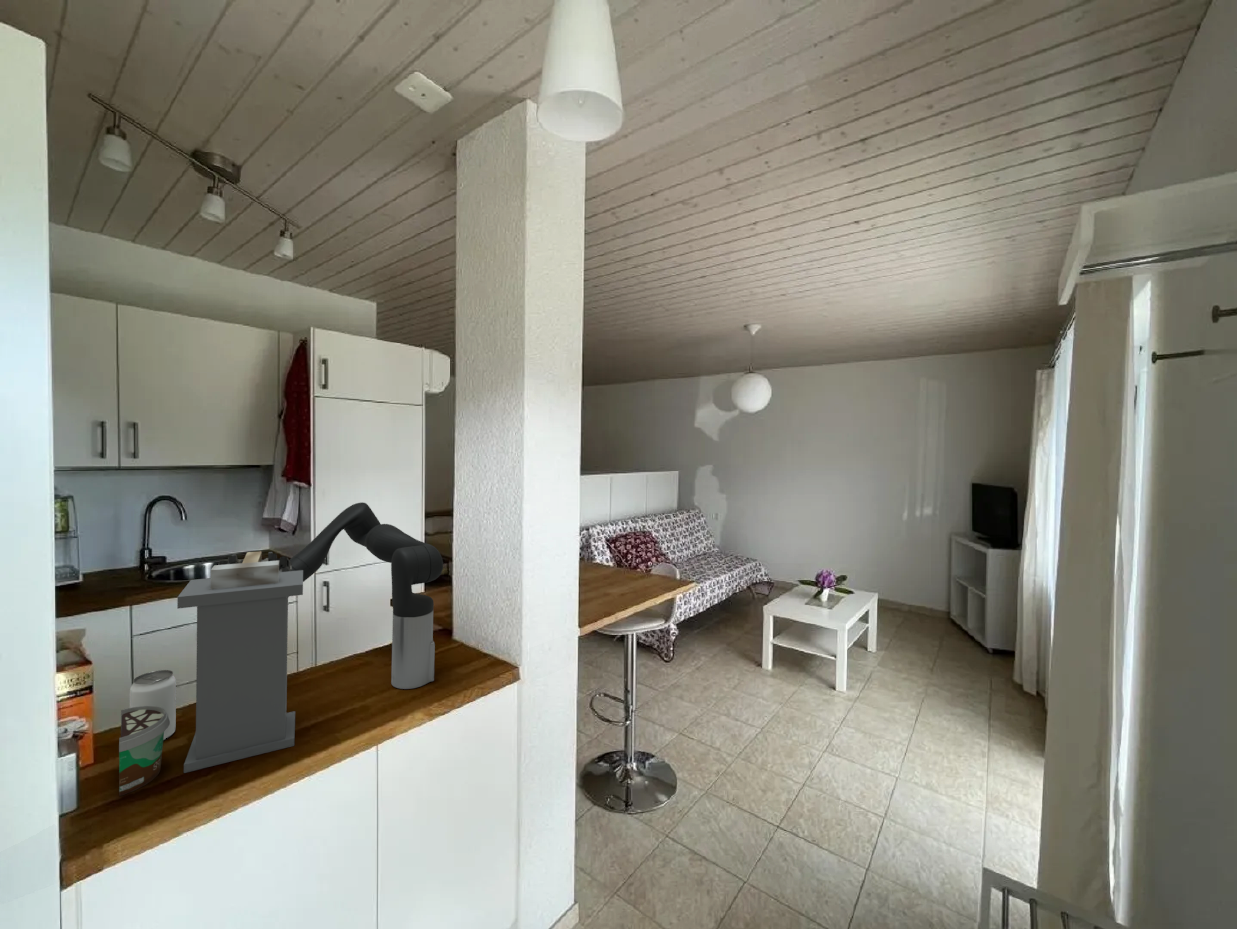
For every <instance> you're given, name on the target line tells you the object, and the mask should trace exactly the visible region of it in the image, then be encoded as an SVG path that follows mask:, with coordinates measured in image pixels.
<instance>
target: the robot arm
mask: <svg viewBox="0 0 1237 929" xmlns="http://www.w3.org/2000/svg"><path fill="white" fill-rule="evenodd" d="M343 530H344V531H345V533H346V534H347V535H348V538H350V540H351V541H353V542H354V543H356V544H359V545H361V546H362V547H366V550H368V551H369V552H370V553H371V555H373V556H374V557H375V558H377V560H380V561H383V562H384V563H390V574H391V601H392V630H391V631H392V632H391V633H392V634H391V635H392V636H391V637H392V638H391V639H392V640H391V673H390V674H391V675H390V676H391V682H390V683H391V685H392V686H393V687H394V688H397V689H401V690H403V689H404V690H409V689H416V688H419V687H423V686H425V685H426V684H428V683H430V682H431V683H432V682H434V681H435V657H436V656H435V654H436V651H435V649H436V647H435V646H436V644H435V641H434V638H433V636H434V634H433V633H434V607H435V606H434V599H433V598H432V597H431V596H430V595H429V596H428V595H426V594H421V593H415V592H413V589H412V588H413V585H414V586H415V585H421V584H426V583H430V582H432V581H435V580H437V579H438V578H439V577H440V576H441V575H442V573H443V570H444V560H443V556H442V555H441V553H440V551H439V550H438V549H437V548H436V546H433V545H432V544H429V543H427V542H423V541H421V540H418V539H416V538H414V537H413V536H411V535H409V534H408V533H405V532H404V531H403V530H401V529H400V528H398V527H396V526H395V525H392V524H388V523H381V522H380V520H379V519H378V517H377V515H375V512H374V511H373V510H372V508H371V507H370V505H368V504H367V503H366V502H357V503H353V504H352V505H349V506H348V507H347V508H345V509H344V510H342V511H341V512H340V513H339V514H338V515H337V516H336V517H334V518H333V519H332V521H331V522H330V523H328V524H327V525H326V527H324V528H323V530H321V531H320V533H318V534H317V535H316V537H314V539H312V540H311V542H309V543H308V544H307V545H306V546H304V548H302V549H301V550H300V551H299V552H297V553H296V554H295V555H294V556H292V557H291V558H290V559H289V557H288V556H284V555H282V556H280V558H278V556H277V553H273V551H268V554H267V557H266V558H264V559H262V560H261V562H265V561H279V572H288V571H299V570H303V583H304V582H305V581H306V580H308V579H309V578H310V577H312V575H314V574H315V573H316V572H318V570H319V569H320V568H321V567H322V565H323V564H324V562H325V560H326V558H327V556H328V554H329V552H330V549H331V547H332V545H333V543H334V542H335V539H336V538H337V537H338V535H339V534H340V533H341V532H342V531H343ZM243 560H244V559H238V555H237V553H233V554H231V556H228V557H227V561H226V560H220V561H219V562H218V563H217V564H218V565H226V564H239V563H242V562H243ZM288 598H290V596H288Z"/></svg>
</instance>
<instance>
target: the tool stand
mask: <svg viewBox="0 0 1237 929" xmlns="http://www.w3.org/2000/svg"><path fill="white" fill-rule="evenodd" d="M303 592H304V582H303V570H299V571H288V572H279V581H278V583H273V584H263V585H252V586H242V587H232V588H221V589H211V577H209V578H198V579H197V578H196V579H191V580H189V582H188V583H187V585H186V586H185V587H184V589H182V591H181V592H180V593H179V594H178V596H177V600H176V601H177V602H176V603H177V609H179V610H180V609H186V608H196V681H195V684H196V688H195V689H196V690H195V692H196V693H195V694H196V695H195V696H196V697H195V698H196V699H195V702H196V703H195V704H196V706H195V733H194V736H193V739H192V742H191V743H190V744H191V745H190V746H189V749H188V752H187V755H186V758H185V760H184V763H183V773H184V774H186V773H190V772H194V771H198V770H203V769H206V768H209V767H213V766H214V767H215V766H218V765H222V764H226V763H229V762H235V761H237V760H242V759H246V758H250V757H254V756H258V755H262V754H267V753H270V752H275V751H278V750H283V749H286V748H290V747H295V734H296V732H295V731H296V711H290V712H287V705H288V704H287V703H288V702H287V700H288V699H287V698H288V697H287V694H288V693H287V692H288V690H287V689H288V688H287V687H288V629H289V628H288V627H289V625H288V624H289V622H288V621H289V612H288V611H289V597H294V596H295V597H296V596H303V594H304V593H303ZM288 596H289V597H288Z"/></svg>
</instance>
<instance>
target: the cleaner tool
mask: <svg viewBox="0 0 1237 929" xmlns="http://www.w3.org/2000/svg"><path fill="white" fill-rule="evenodd" d="M262 554H263V553H262V551H261V550H260V551H249V552H247V551H246V554H245V556H244V558H243V559H242V560H243V562H242V563H239V564H226V565H217V564H215V565H213V566H212V568H211V569H210V578H211V589H221V588H232V587H242V586H252V585H263V584H273V583H278V581H279V567H280V566H279V561H265V562H261V560H263V559H262V558H263V557H262Z"/></svg>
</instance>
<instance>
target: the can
mask: <svg viewBox="0 0 1237 929" xmlns="http://www.w3.org/2000/svg"><path fill="white" fill-rule="evenodd" d="M132 682H133V683H132V684H131V686H130V689H129V708H133V707H140V706H157V707H161V708H163V709H164V710H165V712H166V713H167V715H168V718H169V721H170V724H169V726H168V728H167V729H166V730H165V731H164V738H163V741H166V740H167V739H169V738H170V737H171V736H172V735H173V734H174V733H175V732H176V725H177V724H176V715H177V713H176V711H177V709H176V708H177V706H176V705H177V700H176V698H177V680H176V677H175V676H174V671H173V670H170V669H160V670H155V671H149V672H146V673H143V674H139V675H138V676H136V677H135V678H133V679H132ZM166 738H167V739H166Z"/></svg>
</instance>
